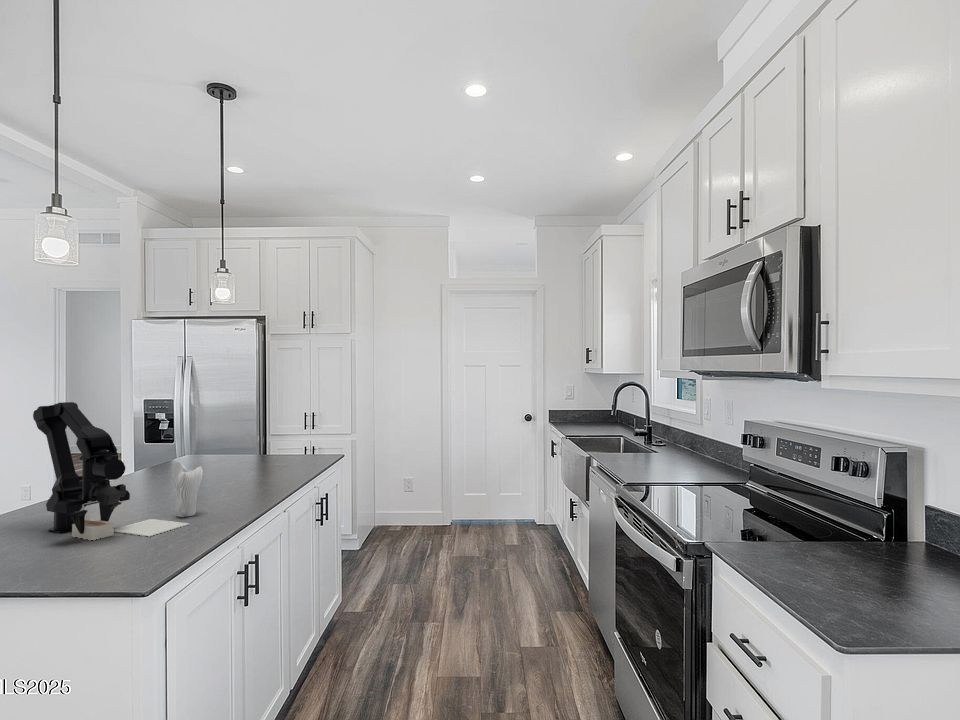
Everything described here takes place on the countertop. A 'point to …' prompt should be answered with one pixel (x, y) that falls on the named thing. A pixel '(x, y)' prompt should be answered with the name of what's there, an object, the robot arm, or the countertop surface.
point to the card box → (94, 529)
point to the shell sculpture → (186, 488)
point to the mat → (150, 527)
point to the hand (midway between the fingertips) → (93, 530)
